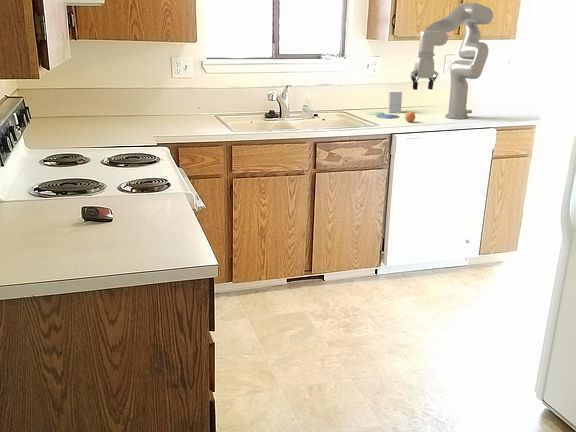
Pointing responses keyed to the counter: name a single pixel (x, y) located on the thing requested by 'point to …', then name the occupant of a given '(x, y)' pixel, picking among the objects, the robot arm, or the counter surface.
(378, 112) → the green far disc
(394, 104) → the supplement box
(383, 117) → the navy disc
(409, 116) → the ball
